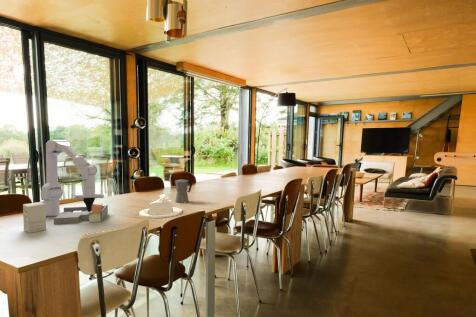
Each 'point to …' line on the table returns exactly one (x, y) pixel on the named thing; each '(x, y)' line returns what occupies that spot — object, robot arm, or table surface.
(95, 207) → the block
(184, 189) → the coffeepot
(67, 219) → the board
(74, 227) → the table surface
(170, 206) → the dish
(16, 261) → the table surface
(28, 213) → the supplement box
